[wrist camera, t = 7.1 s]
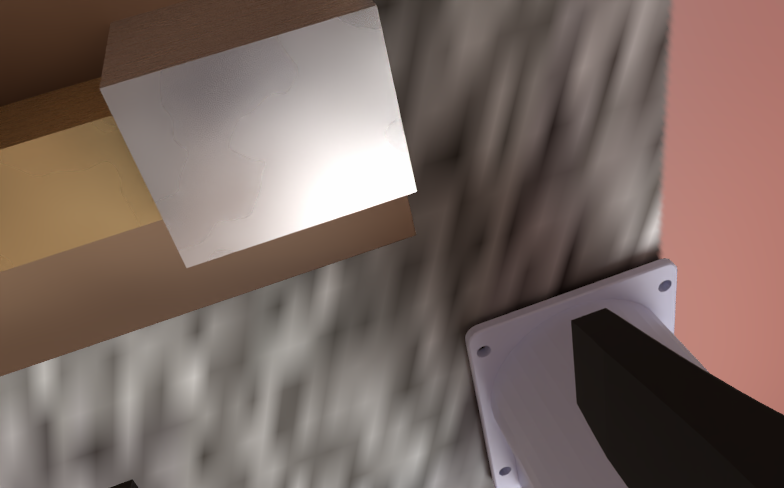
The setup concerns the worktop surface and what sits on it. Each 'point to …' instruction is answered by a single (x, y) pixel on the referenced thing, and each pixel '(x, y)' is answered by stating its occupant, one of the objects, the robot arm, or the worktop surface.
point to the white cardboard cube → (256, 116)
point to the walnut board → (143, 244)
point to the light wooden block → (65, 176)
